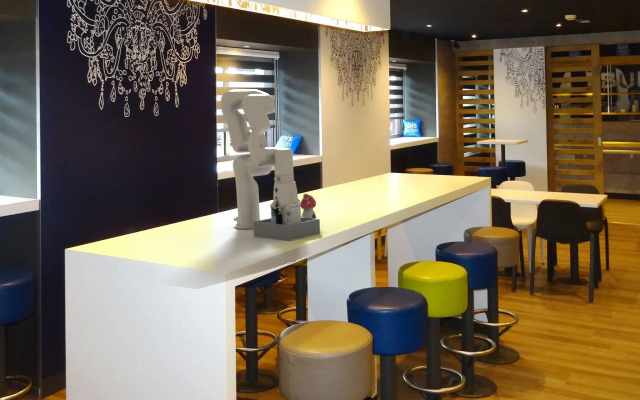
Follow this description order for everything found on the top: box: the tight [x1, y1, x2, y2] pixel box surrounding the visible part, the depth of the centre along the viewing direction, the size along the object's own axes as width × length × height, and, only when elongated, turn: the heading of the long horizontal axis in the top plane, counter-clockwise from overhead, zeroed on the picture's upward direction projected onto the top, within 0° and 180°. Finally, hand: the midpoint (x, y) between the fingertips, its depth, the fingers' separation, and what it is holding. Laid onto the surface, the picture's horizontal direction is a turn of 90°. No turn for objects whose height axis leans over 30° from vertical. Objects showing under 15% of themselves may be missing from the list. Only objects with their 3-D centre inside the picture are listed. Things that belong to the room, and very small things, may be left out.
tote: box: [253, 217, 321, 242], centre depth 284 cm, size 20×18×6 cm
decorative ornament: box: [300, 193, 317, 219], centre depth 299 cm, size 9×7×15 cm
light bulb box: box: [270, 202, 302, 225], centre depth 283 cm, size 11×7×11 cm, turn 58°
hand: (286, 222), depth 284 cm, fingers closed on light bulb box, 7 cm apart
